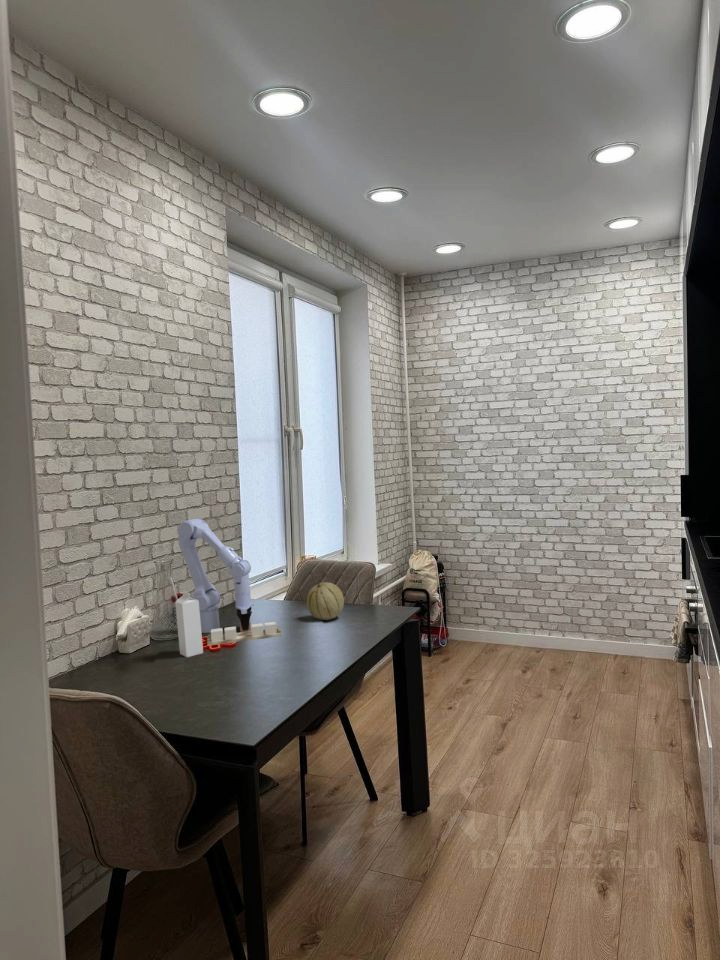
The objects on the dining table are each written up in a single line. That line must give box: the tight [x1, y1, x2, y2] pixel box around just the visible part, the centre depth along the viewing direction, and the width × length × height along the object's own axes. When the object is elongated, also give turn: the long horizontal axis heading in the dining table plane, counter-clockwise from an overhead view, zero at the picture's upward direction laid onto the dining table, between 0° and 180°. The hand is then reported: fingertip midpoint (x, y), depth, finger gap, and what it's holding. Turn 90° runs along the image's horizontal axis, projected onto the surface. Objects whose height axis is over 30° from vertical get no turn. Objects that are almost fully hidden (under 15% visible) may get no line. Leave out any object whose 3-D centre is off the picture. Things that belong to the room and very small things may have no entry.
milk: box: [174, 590, 204, 658], centre depth 229 cm, size 6×6×22 cm
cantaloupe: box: [306, 581, 345, 621], centre depth 264 cm, size 15×15×15 cm
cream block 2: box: [224, 626, 237, 640], centre depth 243 cm, size 4×4×4 cm
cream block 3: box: [251, 622, 264, 636], centre depth 245 cm, size 4×4×4 cm
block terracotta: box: [239, 620, 252, 633], centre depth 254 cm, size 4×4×4 cm
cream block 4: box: [264, 621, 277, 635], centre depth 246 cm, size 4×4×4 cm
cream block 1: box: [210, 627, 224, 641], centre depth 242 cm, size 4×4×4 cm
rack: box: [206, 625, 282, 646], centre depth 244 cm, size 26×8×3 cm, turn 101°
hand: (245, 628), depth 255 cm, fingers closed on block terracotta, 4 cm apart
